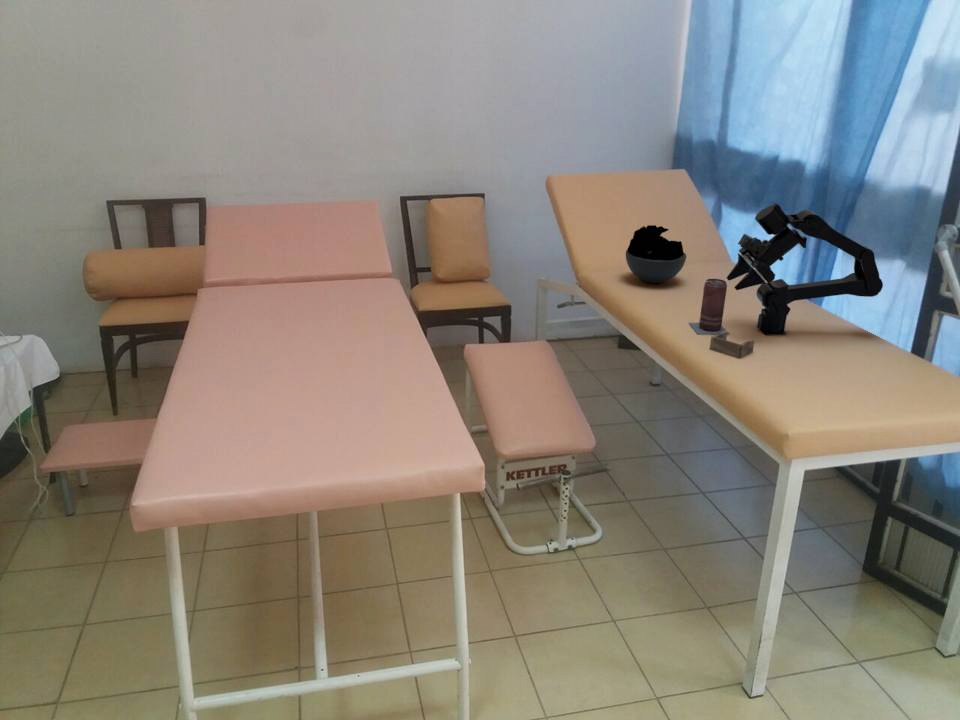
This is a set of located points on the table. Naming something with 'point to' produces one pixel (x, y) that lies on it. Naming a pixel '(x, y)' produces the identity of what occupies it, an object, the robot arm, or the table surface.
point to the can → (713, 304)
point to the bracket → (731, 345)
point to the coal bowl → (654, 255)
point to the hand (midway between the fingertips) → (731, 284)
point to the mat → (701, 331)
